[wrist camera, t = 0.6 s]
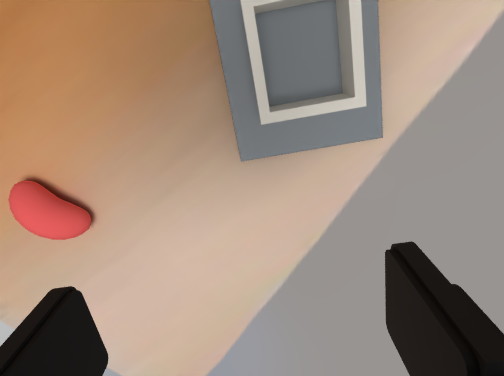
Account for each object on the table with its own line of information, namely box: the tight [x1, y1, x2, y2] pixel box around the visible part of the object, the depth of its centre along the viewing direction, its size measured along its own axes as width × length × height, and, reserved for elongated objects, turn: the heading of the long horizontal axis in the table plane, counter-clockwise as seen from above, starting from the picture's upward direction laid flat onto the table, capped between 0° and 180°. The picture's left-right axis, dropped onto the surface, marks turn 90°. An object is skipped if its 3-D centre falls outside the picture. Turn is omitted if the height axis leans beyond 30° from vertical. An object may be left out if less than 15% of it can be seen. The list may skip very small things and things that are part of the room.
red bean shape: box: [9, 181, 91, 240], centre depth 39 cm, size 5×9×6 cm
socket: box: [209, 0, 383, 161], centre depth 32 cm, size 20×16×6 cm
